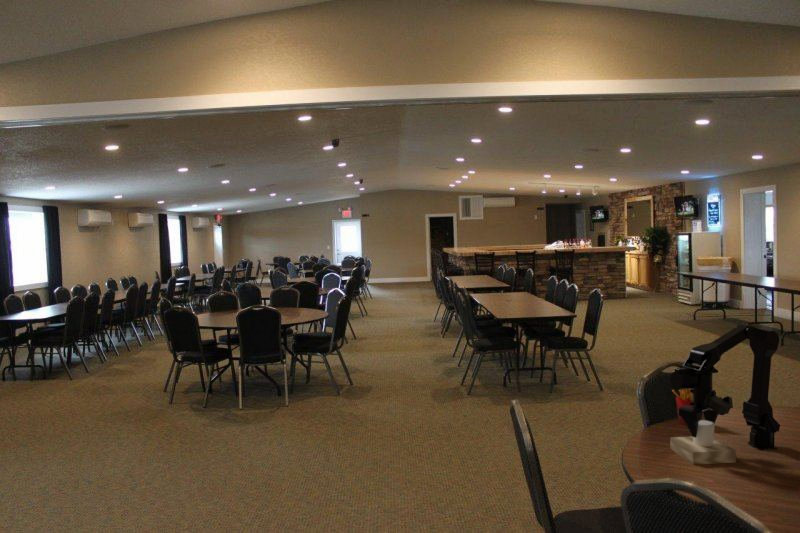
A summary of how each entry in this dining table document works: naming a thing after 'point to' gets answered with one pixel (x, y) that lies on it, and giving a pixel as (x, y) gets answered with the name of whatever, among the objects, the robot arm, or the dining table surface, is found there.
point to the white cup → (704, 433)
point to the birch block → (702, 451)
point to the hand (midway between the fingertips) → (702, 434)
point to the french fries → (683, 401)
